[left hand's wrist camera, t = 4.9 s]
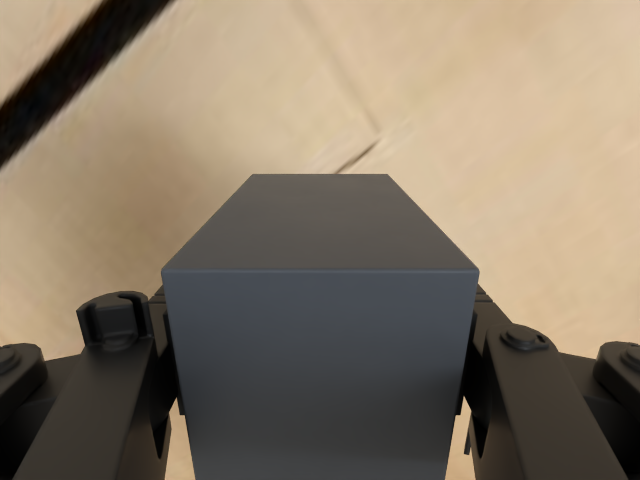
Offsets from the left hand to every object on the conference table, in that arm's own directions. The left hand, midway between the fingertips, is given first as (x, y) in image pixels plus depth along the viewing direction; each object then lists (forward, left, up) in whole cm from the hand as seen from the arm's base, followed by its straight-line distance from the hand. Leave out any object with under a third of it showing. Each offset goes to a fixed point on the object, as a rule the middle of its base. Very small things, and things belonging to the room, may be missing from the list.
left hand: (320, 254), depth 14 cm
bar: (+8, 0, -1) cm, 8 cm away
